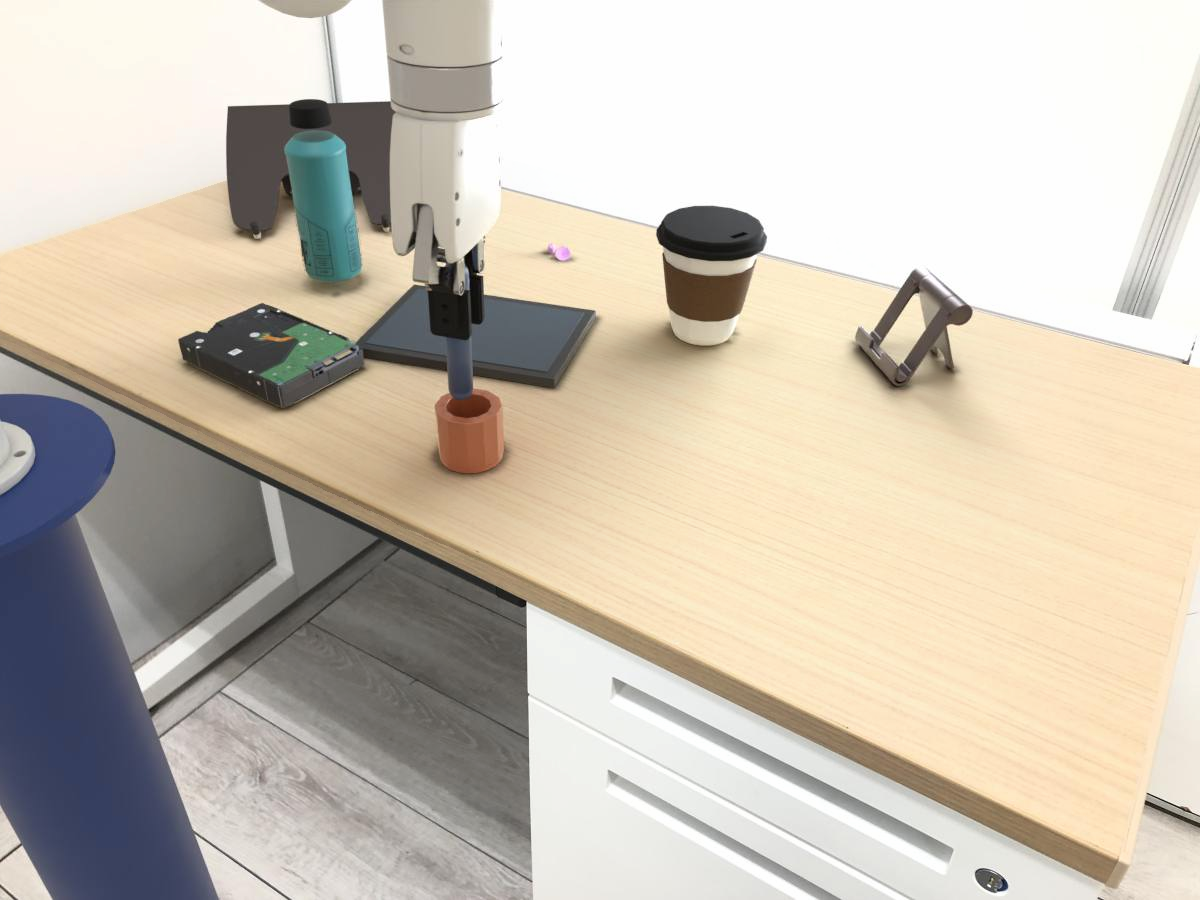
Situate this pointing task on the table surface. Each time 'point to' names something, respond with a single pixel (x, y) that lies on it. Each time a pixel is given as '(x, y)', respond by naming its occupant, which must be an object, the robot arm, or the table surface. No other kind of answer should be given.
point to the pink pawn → (559, 252)
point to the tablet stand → (937, 314)
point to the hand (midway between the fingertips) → (457, 326)
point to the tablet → (485, 338)
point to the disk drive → (272, 354)
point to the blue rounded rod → (460, 360)
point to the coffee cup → (708, 269)
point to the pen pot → (470, 431)
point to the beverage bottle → (322, 195)
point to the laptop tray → (264, 165)
